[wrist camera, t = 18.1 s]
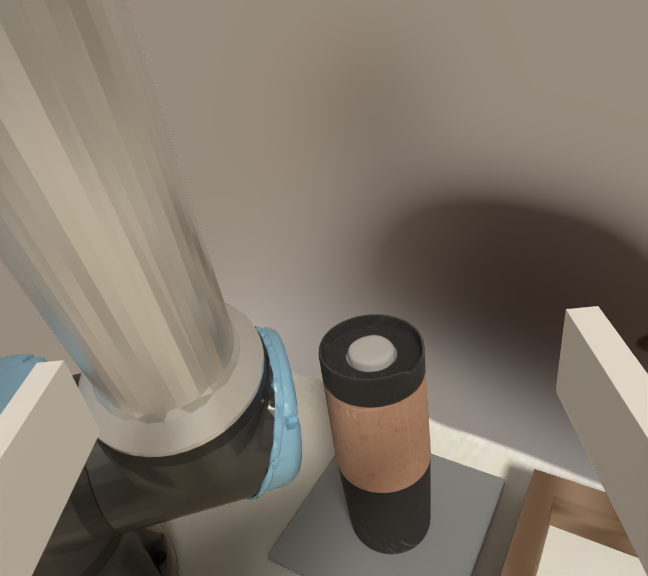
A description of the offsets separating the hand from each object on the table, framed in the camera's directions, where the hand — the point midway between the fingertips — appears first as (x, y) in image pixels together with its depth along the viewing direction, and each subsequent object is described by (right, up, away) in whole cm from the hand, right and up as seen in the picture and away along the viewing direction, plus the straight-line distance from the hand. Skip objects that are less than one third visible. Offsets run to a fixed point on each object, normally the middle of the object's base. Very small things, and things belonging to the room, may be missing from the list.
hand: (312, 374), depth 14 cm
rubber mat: (+6, -19, +35) cm, 40 cm away
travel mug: (+6, -19, +34) cm, 39 cm away
